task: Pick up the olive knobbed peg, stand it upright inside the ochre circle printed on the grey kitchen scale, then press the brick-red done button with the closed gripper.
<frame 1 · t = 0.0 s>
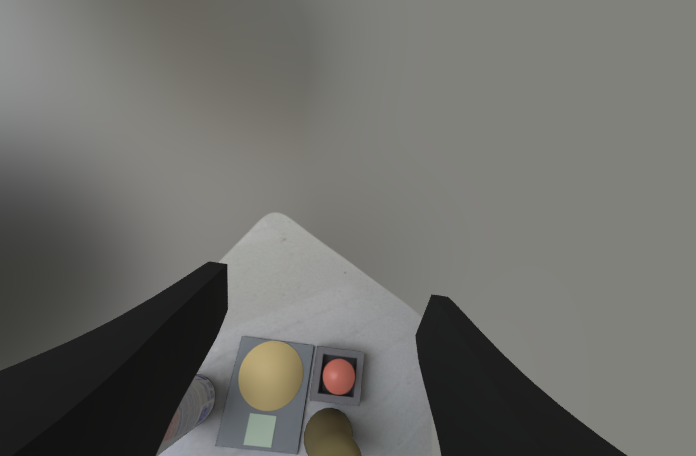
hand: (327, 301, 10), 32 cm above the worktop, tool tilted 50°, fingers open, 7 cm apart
done button: (338, 375, 36), point 3 cm above the worktop, slide at 0.0 cm
beverage can: (192, 399, 36), on the worktop
olive knobbed peg: (328, 435, 36), on the worktop
button housing: (336, 373, 39), on the worktop
grey kitchen scale: (268, 391, 37), on the worktop
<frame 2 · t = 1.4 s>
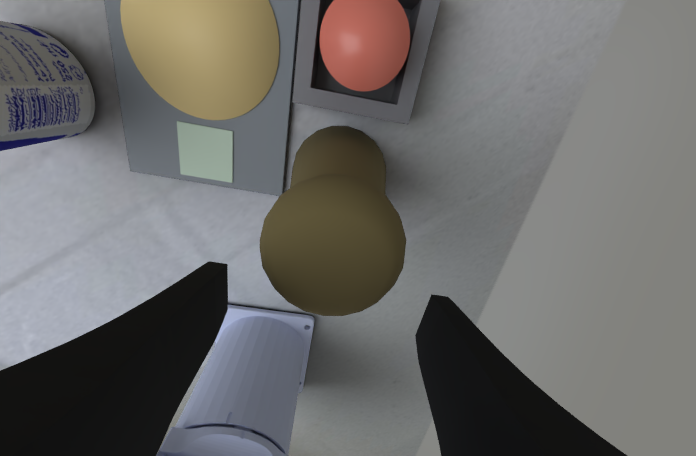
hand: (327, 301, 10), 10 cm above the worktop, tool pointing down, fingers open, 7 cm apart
done button: (363, 44, 13), point 3 cm above the worktop, slide at 0.0 cm
beverage can: (52, 85, 17), on the worktop
olive knobbed peg: (339, 173, 19), on the worktop
button housing: (360, 50, 16), on the worktop
grey kitchen scale: (207, 81, 17), on the worktop
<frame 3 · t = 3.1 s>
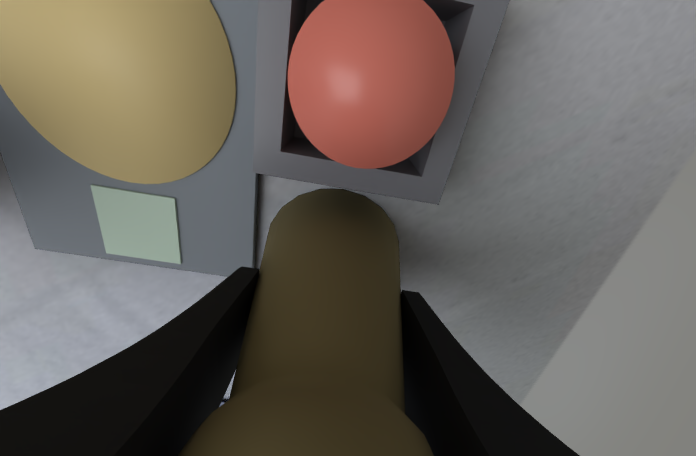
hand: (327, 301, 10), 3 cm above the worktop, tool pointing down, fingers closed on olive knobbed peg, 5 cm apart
done button: (367, 86, 8), point 3 cm above the worktop, slide at 0.0 cm
olive knobbed peg: (332, 248, 14), on the worktop, touching gripper
button housing: (363, 83, 10), on the worktop
grey kitchen scale: (131, 127, 11), on the worktop
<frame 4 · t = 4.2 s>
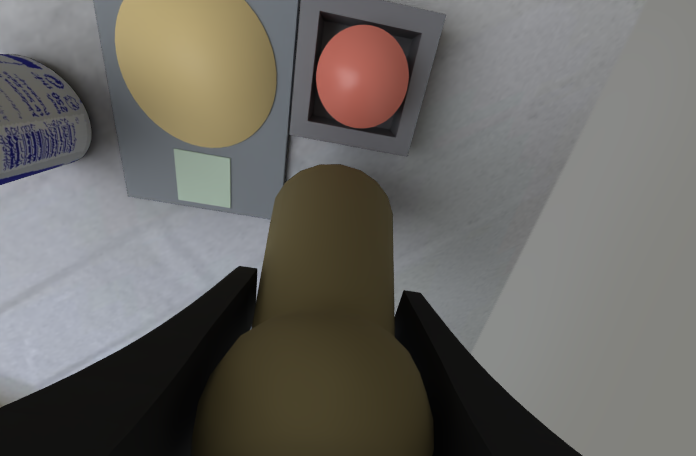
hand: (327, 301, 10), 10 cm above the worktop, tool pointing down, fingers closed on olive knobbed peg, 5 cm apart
done button: (361, 79, 13), point 3 cm above the worktop, slide at 0.0 cm
beverage can: (48, 112, 17), on the worktop
olive knobbed peg: (332, 220, 15), point 4 cm above the worktop, touching gripper
button housing: (359, 79, 16), on the worktop
grey kitchen scale: (203, 109, 16), on the worktop
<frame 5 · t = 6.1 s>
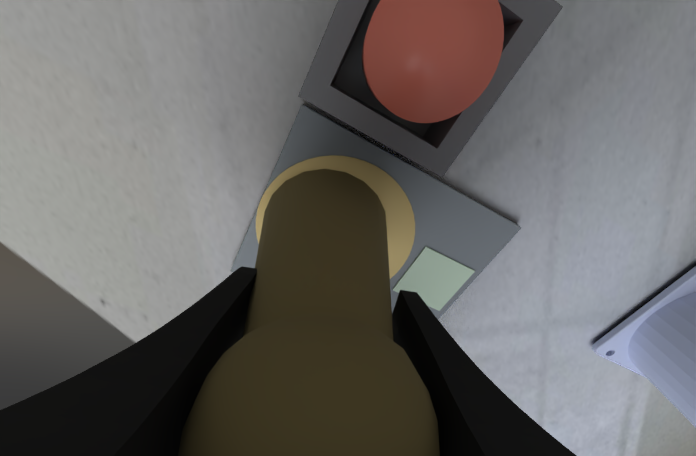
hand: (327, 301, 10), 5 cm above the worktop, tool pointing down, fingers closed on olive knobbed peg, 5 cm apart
done button: (423, 54, 9), point 3 cm above the worktop, slide at 0.0 cm
olive knobbed peg: (325, 226, 15), resting on grey kitchen scale, touching gripper
button housing: (408, 58, 12), on the worktop
grey kitchen scale: (369, 246, 16), on the worktop
when the fingers open (5 cm above the worktop, at t = 6.5 s): olive knobbed peg stays where it is, resting on grey kitchen scale.
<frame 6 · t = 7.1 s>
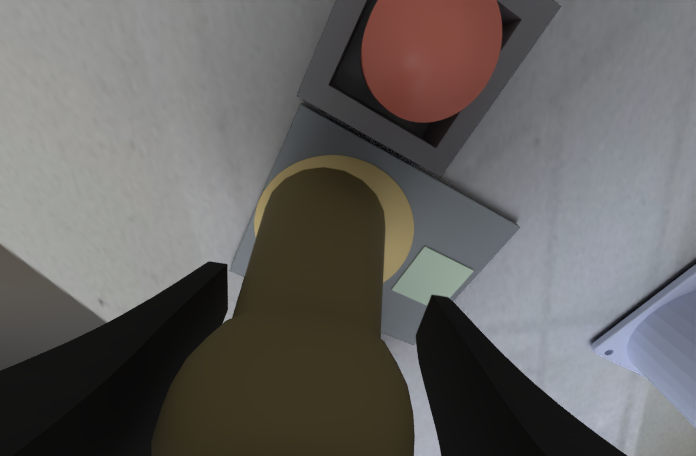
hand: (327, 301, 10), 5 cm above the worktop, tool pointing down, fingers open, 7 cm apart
done button: (422, 53, 9), point 3 cm above the worktop, slide at 0.0 cm
olive knobbed peg: (325, 225, 15), resting on grey kitchen scale
button housing: (406, 58, 12), on the worktop
grey kitchen scale: (368, 246, 16), on the worktop
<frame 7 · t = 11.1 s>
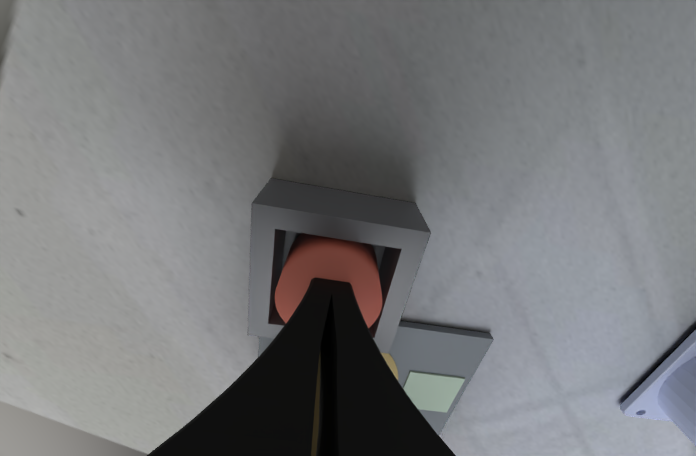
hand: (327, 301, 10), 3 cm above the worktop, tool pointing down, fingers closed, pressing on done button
done button: (330, 281, 11), point 2 cm above the worktop, slide at -0.7 cm, touching gripper
olive knobbed peg: (317, 374, 17), resting on grey kitchen scale
button housing: (333, 252, 13), on the worktop
grey kitchen scale: (362, 377, 17), on the worktop
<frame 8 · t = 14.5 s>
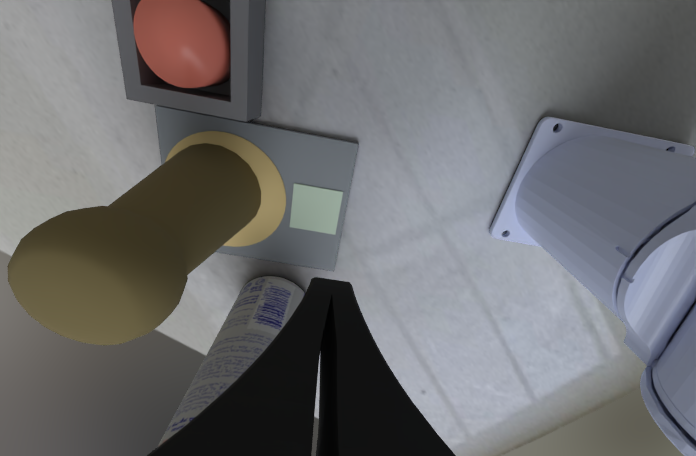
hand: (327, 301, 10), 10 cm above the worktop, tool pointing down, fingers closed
done button: (190, 43, 14), point 2 cm above the worktop, slide at -0.9 cm
beverage can: (276, 298, 24), on the worktop
olive knobbed peg: (216, 189, 19), resting on grey kitchen scale
button housing: (207, 47, 16), on the worktop
grey kitchen scale: (257, 197, 20), on the worktop
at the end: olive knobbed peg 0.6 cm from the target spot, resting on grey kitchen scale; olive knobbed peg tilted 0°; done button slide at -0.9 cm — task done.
